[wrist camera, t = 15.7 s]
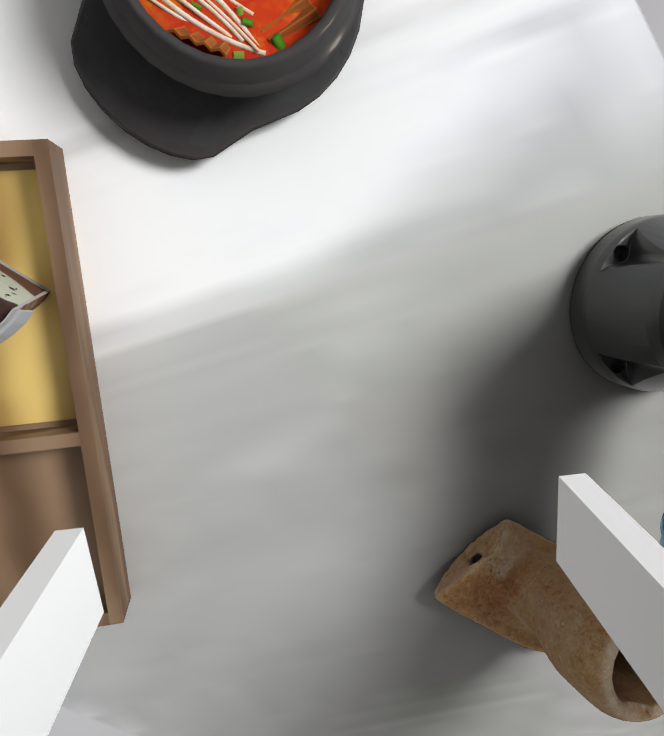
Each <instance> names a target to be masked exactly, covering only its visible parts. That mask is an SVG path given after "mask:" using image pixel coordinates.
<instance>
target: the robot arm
mask: <svg viewBox="0 0 664 736" xmlns="http://www.w3.org/2000/svg"><path fill="white" fill-rule="evenodd" d="M570 315H571V326H572V331H573V335H574V339H575V342H576V344H577V347H578V349H579V351H580V353H581V354H582V356H583V358H584V359H585V360H586V362H587V363H588V364H589V365H590V366H591V367H592V368H593V369H594V370H595V371H596V372H597V373H598V374H599V375H601V376H602V377H604V378H606V379H607V380H609V381H612V382H614V383H617V384H619V385H623V386H626V387H629V388H632V389H636V390H641V391H651V392H659V391H664V215H654V216H646V217H641V218H637V219H634V220H631V221H628V222H626V223H624V224H622V225H620V226H618V227H617V228H615V229H614V230H612V231H611V232H609V233H608V234H607V235H606V236H605V237H603V238H602V239H601V240H600V241H599V242H598V243H597V244H596V246H595V247H594V248H593V249H592V250H591V252H590V253H589V255H588V256H587V258H586V259H585V261H584V263H583V264H582V266H581V268H580V271H579V273H578V275H577V278H576V281H575V284H574V288H573V292H572V297H571V308H570ZM660 529H661V539H660V544H659V543H658V542H657V541H656V540H655V539H654V538H653V537H652V536H651V535H649V534H648V533H647V532H646V531H645V530H644V529H643V528H642V527H641V526H640V525H639V524H638V523H637V522H636V521H635V520H634V519H633V518H632V517H631V516H630V515H629V514H628V513H627V512H626V511H624V510H623V509H622V508H621V507H620V506H619V505H618V504H617V503H616V502H615V501H614V500H613V499H612V498H611V497H610V496H609V495H608V494H607V493H606V492H605V491H604V490H603V489H602V488H601V487H600V486H598V485H597V484H596V483H595V482H594V481H593V480H592V479H591V478H590V477H589V476H588V475H587V474H586V473H583V474H574V475H565V476H559V485H558V517H557V549H556V561H557V563H558V564H559V566H560V567H561V568H562V570H563V571H564V573H565V574H566V575H567V577H568V578H569V580H570V581H571V582H572V584H573V585H574V587H575V588H576V589H577V591H578V592H579V594H580V595H581V596H582V598H583V599H584V601H585V602H586V603H587V605H588V606H589V608H590V609H591V610H592V612H593V613H594V615H595V616H596V617H597V619H598V620H599V622H600V623H601V625H602V626H603V627H604V629H605V630H606V632H607V633H608V634H609V636H610V637H611V639H612V640H613V641H614V643H615V644H616V646H617V647H618V648H619V650H620V651H621V653H622V654H623V655H624V657H625V658H626V660H627V661H628V662H629V664H630V665H631V667H632V668H633V669H634V671H635V672H636V674H637V675H638V676H639V678H640V679H641V681H642V682H643V683H644V685H645V686H646V688H647V689H648V690H649V692H650V693H651V695H652V696H653V698H654V699H655V700H656V702H657V703H658V705H659V706H660V707H661V709H662V710H663V712H664V514H663V516H662V519H661V524H660ZM103 613H104V610H103V606H102V602H101V598H100V594H99V590H98V586H97V581H96V577H95V573H94V569H93V565H92V561H91V556H90V552H89V548H88V544H87V540H86V536H85V532H84V528H75V529H66V530H57V531H54V533H53V534H52V536H51V537H50V538H49V540H48V541H47V543H46V544H45V545H44V547H43V548H42V550H41V551H40V553H39V554H38V555H37V557H36V558H35V560H34V561H33V562H32V564H31V565H30V567H29V568H28V569H27V571H26V572H25V574H24V575H23V576H22V578H21V579H20V581H19V582H18V584H17V585H16V586H15V588H14V589H13V591H12V592H11V593H10V595H9V596H8V598H7V599H6V600H5V602H4V603H3V605H2V606H1V607H0V736H48V734H49V732H50V729H51V727H52V725H53V723H54V721H55V718H56V716H57V714H58V712H59V709H60V708H61V705H62V703H63V701H64V699H65V697H66V694H67V692H68V690H69V688H70V686H71V683H72V681H73V679H74V677H75V675H76V672H77V670H78V668H79V666H80V664H81V661H82V659H83V657H84V655H85V653H86V650H87V648H88V646H89V644H90V642H91V639H92V637H93V635H94V633H95V631H96V628H97V626H98V624H99V622H100V620H101V617H102V615H103Z"/></svg>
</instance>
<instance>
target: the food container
mask: <svg viewBox="0 0 664 736" xmlns="http://www.w3.org/2000/svg"><path fill="white" fill-rule="evenodd" d="M50 292H51V291H50V290H49V289H47V288H45V287H44V286H42V285H40V284H39V283H37V282H35V281H34V280H32V279H31V278H29V277H27V276H26V275H24V274H22V273H21V272H19V271H17V270H16V269H14V268H12V267H11V266H9V265H7V264H6V263H4V262H2V261H1V260H0V344H1V343H2V342H4V341H5V340H7V339H8V338H10V337H11V336H13V335H14V334H15V333H16V332H17V331H18V330H19V329H20V328H21V327H22V326H23V325H25V324H26V322H27V321H28V320H29V318H30V317H31V316H32V314H33V313H34V311H32V310H34V309H35V308H37V307H38V306H39V305H40V304H41V303H42V302H43V301H44V300H45V299H46V297H47V296H48V294H49V293H50Z"/></svg>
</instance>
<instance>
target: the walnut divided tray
mask: <svg viewBox="0 0 664 736" xmlns="http://www.w3.org/2000/svg"><path fill="white" fill-rule="evenodd" d="M0 260H1V261H2V262H4V263H6V264H7V265H9V266H11V267H12V268H14V269H16V270H17V271H19V272H21V273H22V274H24V275H26V276H27V277H29V278H31V279H32V280H34V281H35V282H37V283H39V284H40V285H42V286H44V287H45V288H47V289H49V290H50V291H51V292H50V293H49V294H48V296H47V297H46V299H45V300H44V301H43V302H42V303H41V304H40V305H39V306H38V307H37V308H35V309H34V310H32V311H34V313H33V314H32V316H31V317H30V318H29V320H28V321H27V322H26V324H25V325H23V326H22V327H21V328H20V329H19V330H18V331H17V332H16V333H15V334H14V335H13V336H11V337H10V338H8V339H7V340H5V341H4V342H2V343H1V344H0V607H1V606H2V605H3V603H4V602H5V600H6V599H7V598H8V596H9V595H10V593H11V592H12V591H13V589H14V588H15V586H16V585H17V584H18V582H19V581H20V579H21V578H22V576H23V575H24V574H25V572H26V571H27V569H28V568H29V567H30V565H31V564H32V562H33V561H34V560H35V558H36V557H37V555H38V554H39V553H40V551H41V550H42V548H43V547H44V545H45V544H46V543H47V541H48V540H49V538H50V537H51V536H52V534H53V533H54V531H57V530H66V529H75V528H84V532H85V536H86V540H87V544H88V548H89V552H90V556H91V561H92V565H93V569H94V573H95V577H96V581H97V586H98V590H99V594H100V598H101V602H102V606H103V610H104V613H103V615H102V617H101V620H100V622H99V624H98V626H97V627H99V626H105V625H111V624H118V623H123V622H124V619H125V615H126V612H127V608H128V605H129V602H130V598H131V595H130V588H129V582H128V575H127V569H126V562H125V556H124V549H123V543H122V536H121V529H120V523H119V516H118V510H117V503H116V497H115V490H114V484H113V477H112V471H111V464H110V458H109V451H108V444H107V438H106V431H105V425H104V418H103V412H102V405H101V399H100V392H99V386H98V379H97V373H96V366H95V359H94V353H93V346H92V340H91V333H90V327H89V320H88V314H87V307H86V301H85V294H84V287H83V281H82V274H81V268H80V261H79V255H78V248H77V242H76V235H75V229H74V222H73V216H72V209H71V202H70V196H69V189H68V183H67V176H66V170H65V163H64V157H63V150H62V148H60V147H59V146H57V145H56V144H54V143H53V142H51V141H49V140H48V139H37V140H12V141H0Z"/></svg>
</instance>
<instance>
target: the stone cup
mask: <svg viewBox="0 0 664 736" xmlns="http://www.w3.org/2000/svg"><path fill="white" fill-rule="evenodd" d="M556 549H557V544H556V543H554V542H552V541H550V540H548V539H546V538H544V537H542V536H540V535H538V534H536V533H534V532H532V531H531V530H529V529H527V528H525V527H523V526H522V525H520V524H518V523H516V522H514V521H511V520H508V519H507V520H503V521H501V522H500V523H499V524H498V525H496V526H494V527H493V528H491V529H489V530H487V531H486V532H484V533H483V535H481V536H480V537H478V538H477V539H476V540H475V541H474V542H473V543H471V544H470V545H468V546H467V548H466V549H465V551H464V552H463V553H462V554H460V555H459V556H458V557H457V558H456V560H455V561H454V562H453V563H452V564H451V565H450V567H449V569H448V570H447V571H446V572H445V573H444V574H443V576H442V578H441V580H440V582H439V584H438V585H437V587H436V589H435V593H434V596H435V598H436V599H437V600H438V601H439V602H441V603H442V604H444V605H446V606H447V607H449V608H451V609H453V610H454V611H456V612H457V613H459V614H461V615H462V616H464V617H467V618H469V619H471V620H473V621H474V622H476V623H478V624H481V625H483V626H485V627H486V628H488V629H490V630H492V631H493V632H495V633H497V634H499V635H501V636H503V637H505V638H507V639H509V640H511V641H513V642H516V643H518V644H520V645H522V646H524V647H527V648H530V649H533V650H535V651H539V652H544V653H546V654H547V656H548V658H549V660H550V661H551V663H552V664H553V666H554V667H555V668H556V670H557V671H558V672H559V673H560V674H561V675H562V676H563V677H564V678H565V679H566V680H567V681H568V682H569V683H570V684H571V685H572V686H573V687H574V688H575V689H576V690H577V691H578V692H579V693H580V694H581V695H582V696H583V697H585V698H586V699H587V700H588V701H589V702H590V703H591V704H593V705H594V706H595V707H596V708H598V709H599V710H600V711H602V712H603V713H605V714H607V715H609V716H611V717H614V718H617V719H620V720H623V721H630V722H642V721H649V720H652V719H655V718H657V717H659V716H661V715H663V714H664V712H663V710H662V709H661V707H660V706H659V705H658V703H657V702H656V700H655V699H654V698H653V696H652V695H651V693H650V692H649V690H648V689H647V688H646V686H645V685H644V683H643V682H642V681H641V679H640V678H639V676H638V675H637V674H636V672H635V671H634V669H633V668H632V667H631V665H630V664H629V662H628V661H627V660H626V658H625V657H624V655H623V654H622V653H621V651H620V650H619V648H618V647H617V646H616V644H615V643H614V641H613V640H612V639H611V637H610V636H609V634H608V633H607V632H606V630H605V629H604V627H603V626H602V625H601V623H600V622H599V620H598V619H597V617H596V616H595V615H594V613H593V612H592V610H591V609H590V608H589V606H588V605H587V603H586V602H585V601H584V599H583V598H582V596H581V595H580V594H579V592H578V591H577V589H576V588H575V587H574V585H573V584H572V582H571V581H570V580H569V578H568V577H567V575H566V574H565V573H564V571H563V570H562V568H561V567H560V566H559V564H558V563H557V561H556Z"/></svg>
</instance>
